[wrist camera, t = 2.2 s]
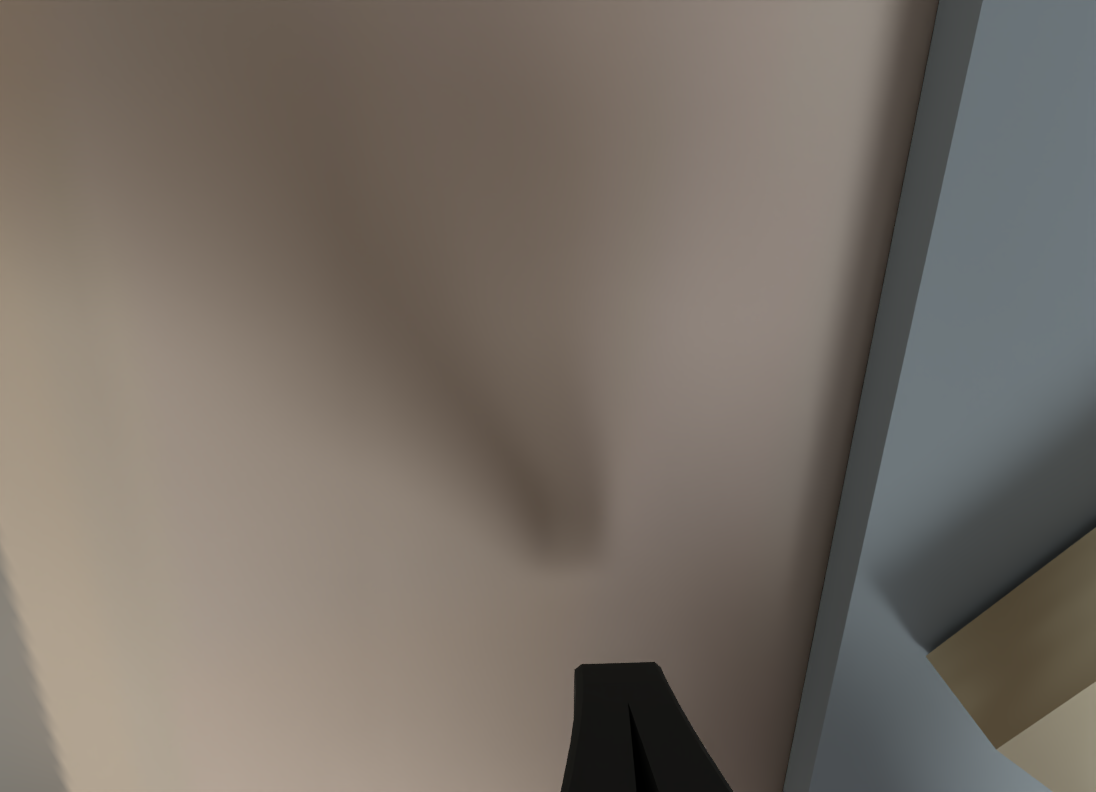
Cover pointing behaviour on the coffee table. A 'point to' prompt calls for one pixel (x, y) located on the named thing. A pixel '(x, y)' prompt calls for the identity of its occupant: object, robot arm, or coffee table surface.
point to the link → (1035, 671)
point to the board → (963, 401)
